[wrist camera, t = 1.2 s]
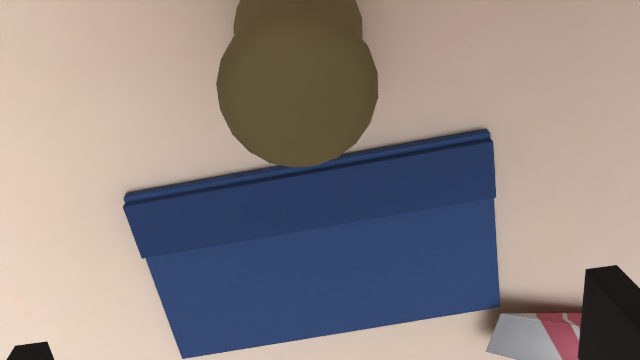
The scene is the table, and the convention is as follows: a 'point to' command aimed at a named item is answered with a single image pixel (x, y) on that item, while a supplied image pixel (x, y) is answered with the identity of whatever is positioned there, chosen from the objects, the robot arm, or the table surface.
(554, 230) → the table surface
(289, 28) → the olive pawn figure
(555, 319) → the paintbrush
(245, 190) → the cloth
